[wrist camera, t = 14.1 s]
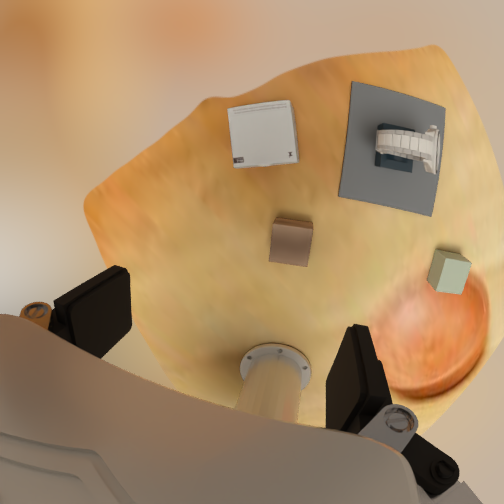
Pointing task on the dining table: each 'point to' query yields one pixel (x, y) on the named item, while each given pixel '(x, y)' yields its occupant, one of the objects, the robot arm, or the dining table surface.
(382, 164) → the watch
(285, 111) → the small box
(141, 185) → the dining table surface
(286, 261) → the walnut block
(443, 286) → the sage block
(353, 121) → the slate mat
